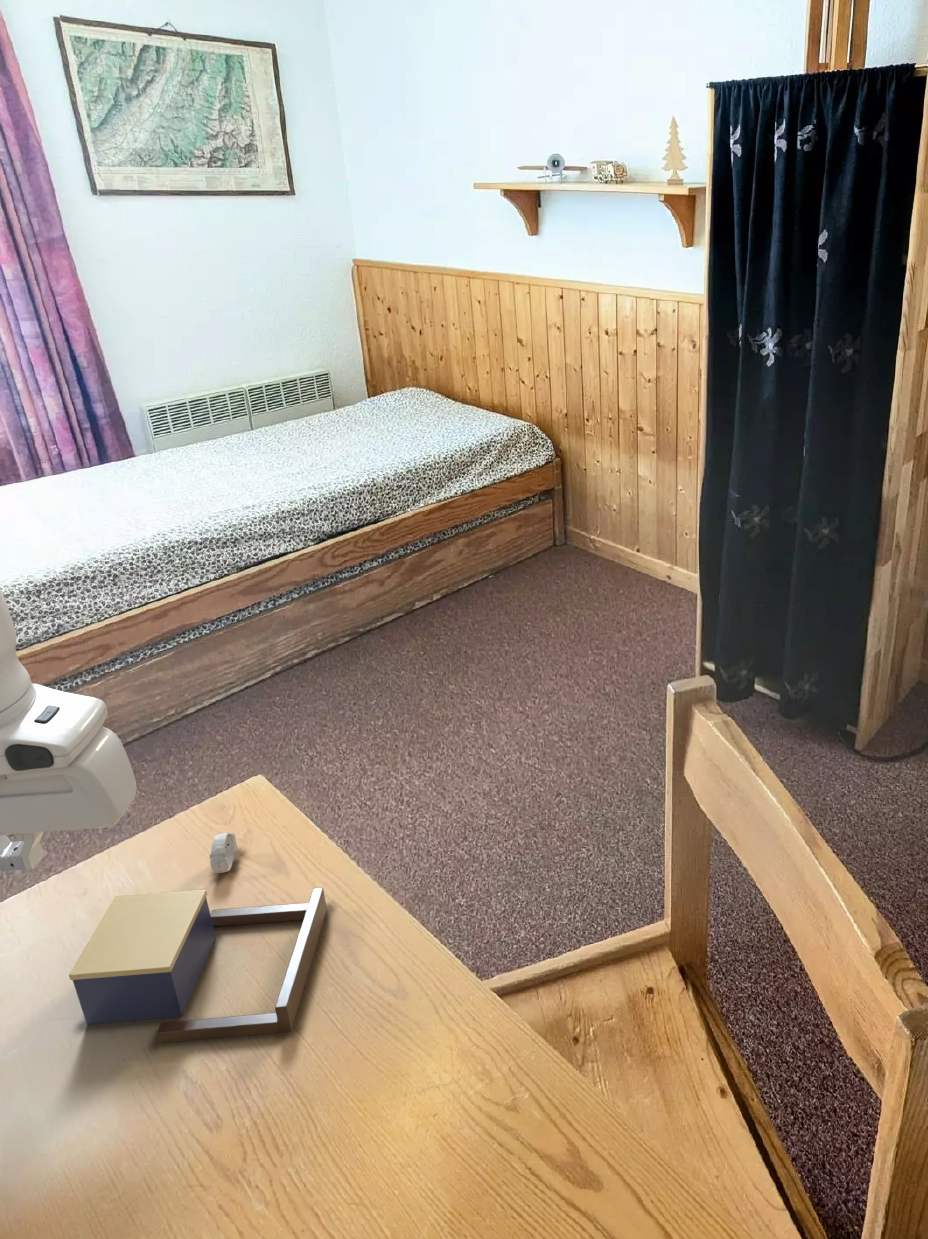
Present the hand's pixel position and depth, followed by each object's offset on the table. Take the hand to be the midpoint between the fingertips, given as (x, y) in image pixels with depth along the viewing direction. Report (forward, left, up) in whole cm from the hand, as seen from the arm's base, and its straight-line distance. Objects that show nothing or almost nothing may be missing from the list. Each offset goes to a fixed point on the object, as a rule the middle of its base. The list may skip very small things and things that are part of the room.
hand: (21, 865), depth 70 cm
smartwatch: (+10, +13, -15) cm, 22 cm away
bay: (+16, 0, -14) cm, 22 cm away
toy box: (+8, 0, -14) cm, 17 cm away
